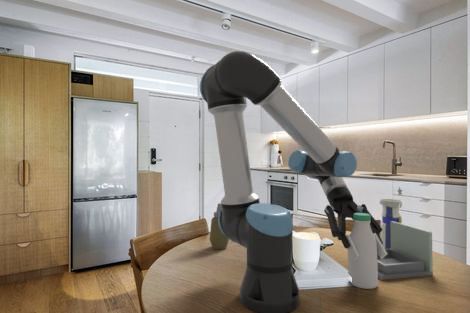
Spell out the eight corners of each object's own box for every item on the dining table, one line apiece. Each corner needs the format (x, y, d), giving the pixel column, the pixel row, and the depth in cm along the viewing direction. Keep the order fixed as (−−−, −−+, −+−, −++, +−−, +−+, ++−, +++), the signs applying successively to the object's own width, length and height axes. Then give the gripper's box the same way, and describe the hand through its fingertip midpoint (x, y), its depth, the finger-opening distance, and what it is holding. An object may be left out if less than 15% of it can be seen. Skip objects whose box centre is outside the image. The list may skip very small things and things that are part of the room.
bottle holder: (381, 280, 81) (380, 235, 81) (349, 260, 96) (348, 223, 97) (432, 275, 84) (432, 232, 84) (393, 257, 100) (392, 221, 100)
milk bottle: (381, 291, 74) (380, 216, 74) (351, 288, 75) (350, 215, 76) (373, 279, 81) (372, 211, 82) (345, 277, 83) (345, 211, 83)
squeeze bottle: (233, 246, 113) (232, 203, 113) (221, 252, 106) (221, 205, 107) (217, 243, 117) (217, 201, 118) (205, 248, 110) (205, 204, 111)
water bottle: (405, 247, 112) (404, 186, 112) (401, 252, 105) (400, 187, 106) (382, 243, 117) (382, 185, 118) (378, 248, 110) (377, 186, 111)
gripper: (359, 198, 96) (395, 261, 80) (304, 200, 92) (330, 266, 76) (369, 184, 91) (410, 248, 75) (312, 186, 87) (341, 253, 71)
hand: (370, 257), depth 75 cm, fingers open, 8 cm apart
